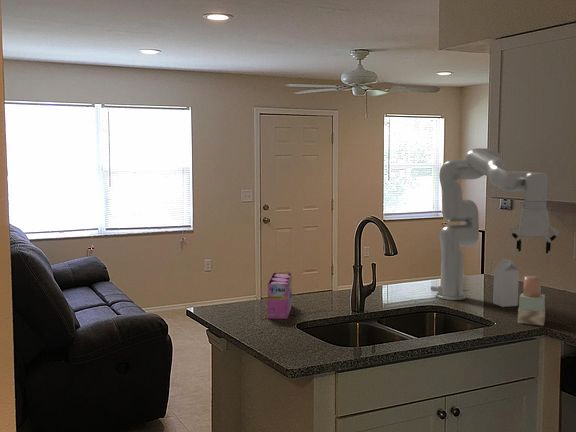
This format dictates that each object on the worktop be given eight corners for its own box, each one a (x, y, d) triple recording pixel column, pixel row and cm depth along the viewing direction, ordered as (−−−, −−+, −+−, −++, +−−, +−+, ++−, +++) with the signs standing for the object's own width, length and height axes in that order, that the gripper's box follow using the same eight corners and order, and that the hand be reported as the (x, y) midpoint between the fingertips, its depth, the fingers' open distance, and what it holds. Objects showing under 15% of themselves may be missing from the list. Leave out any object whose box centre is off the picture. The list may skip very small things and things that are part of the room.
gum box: (273, 304, 273) (273, 272, 272) (292, 304, 273) (292, 272, 271) (267, 318, 250) (267, 283, 248) (287, 319, 249) (288, 283, 248)
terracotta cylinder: (522, 296, 244) (522, 277, 244) (524, 293, 250) (524, 275, 249) (539, 297, 242) (540, 279, 241) (541, 294, 247) (541, 276, 246)
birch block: (517, 323, 244) (518, 310, 244) (519, 317, 252) (520, 305, 252) (543, 326, 241) (544, 312, 240) (544, 320, 249) (545, 307, 248)
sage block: (518, 309, 245) (519, 296, 244) (522, 305, 252) (522, 292, 251) (541, 312, 241) (542, 298, 240) (544, 307, 248) (545, 294, 247)
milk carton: (502, 307, 269) (504, 261, 267) (492, 303, 276) (494, 258, 274) (517, 306, 271) (519, 260, 269) (507, 302, 278) (509, 258, 276)
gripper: (509, 205, 243) (507, 251, 245) (559, 207, 236) (557, 254, 237) (511, 204, 250) (509, 249, 251) (560, 206, 243) (558, 252, 244)
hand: (533, 251), depth 244 cm, fingers open, 9 cm apart
